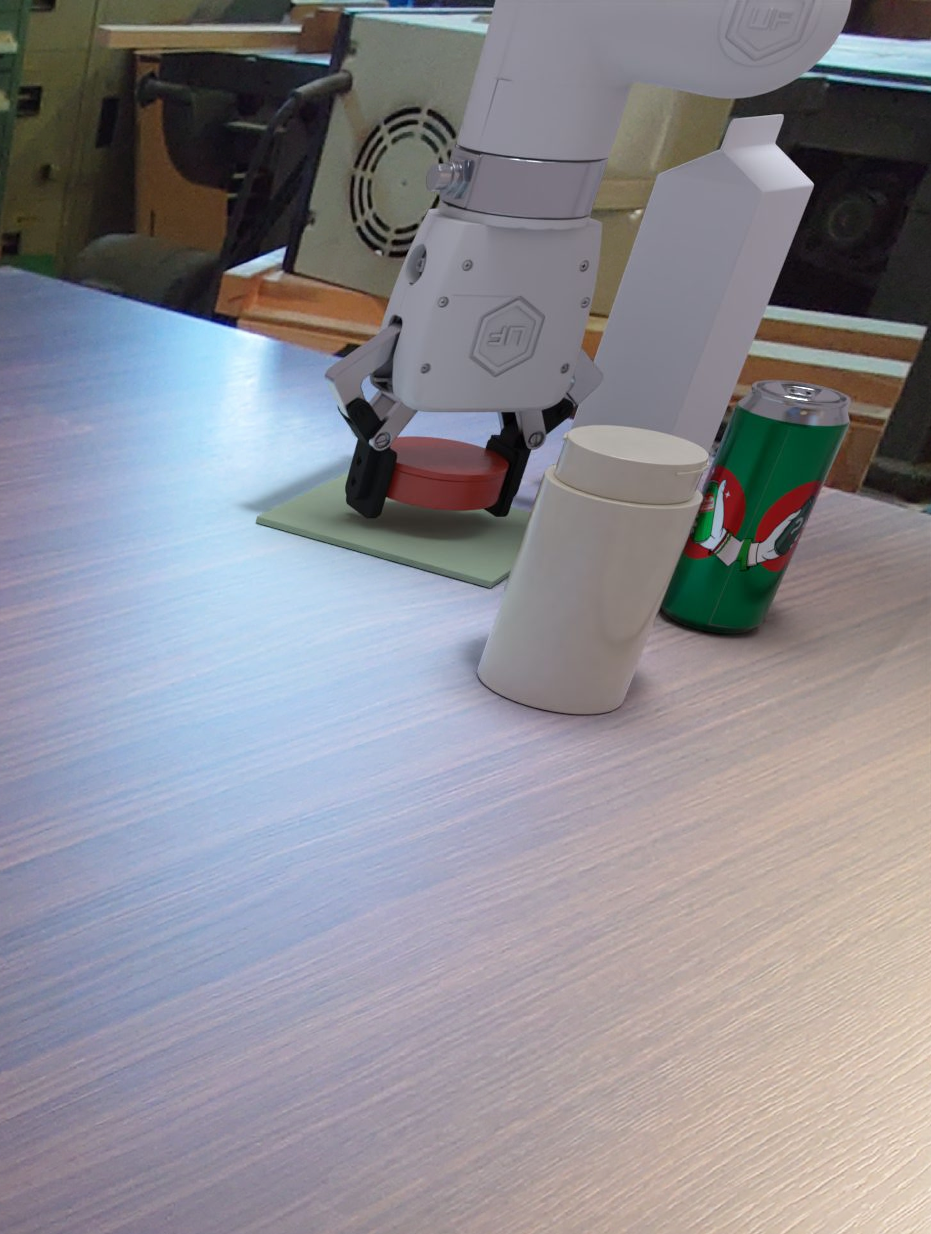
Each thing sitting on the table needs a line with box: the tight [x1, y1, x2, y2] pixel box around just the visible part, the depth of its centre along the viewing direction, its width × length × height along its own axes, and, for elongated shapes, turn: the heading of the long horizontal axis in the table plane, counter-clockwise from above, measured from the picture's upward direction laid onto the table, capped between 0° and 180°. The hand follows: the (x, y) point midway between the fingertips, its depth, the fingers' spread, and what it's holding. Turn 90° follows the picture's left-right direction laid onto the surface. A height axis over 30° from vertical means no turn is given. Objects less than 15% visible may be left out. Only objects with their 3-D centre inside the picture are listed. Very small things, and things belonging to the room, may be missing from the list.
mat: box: [255, 471, 531, 589], centre depth 101 cm, size 14×14×1 cm
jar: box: [476, 425, 710, 715], centre depth 79 cm, size 7×7×12 cm
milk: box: [569, 113, 815, 455], centre depth 100 cm, size 6×6×22 cm
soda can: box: [661, 379, 852, 635], centre depth 87 cm, size 5×5×12 cm
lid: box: [386, 435, 509, 511], centre depth 99 cm, size 7×7×2 cm
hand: (425, 508), depth 100 cm, fingers closed on lid, 7 cm apart
